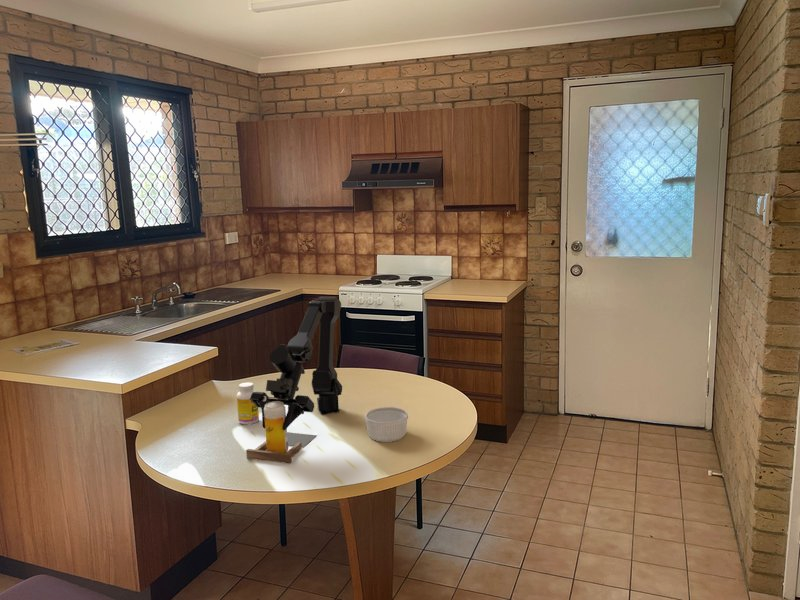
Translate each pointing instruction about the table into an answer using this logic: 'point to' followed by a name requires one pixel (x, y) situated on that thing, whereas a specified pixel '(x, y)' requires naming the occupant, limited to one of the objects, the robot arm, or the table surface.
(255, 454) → the frame
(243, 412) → the supplement bottle
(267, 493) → the table surface
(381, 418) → the ramekin
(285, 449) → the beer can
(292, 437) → the mat
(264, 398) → the robot arm
